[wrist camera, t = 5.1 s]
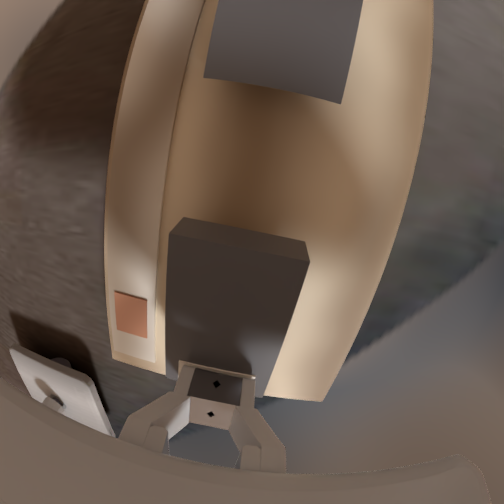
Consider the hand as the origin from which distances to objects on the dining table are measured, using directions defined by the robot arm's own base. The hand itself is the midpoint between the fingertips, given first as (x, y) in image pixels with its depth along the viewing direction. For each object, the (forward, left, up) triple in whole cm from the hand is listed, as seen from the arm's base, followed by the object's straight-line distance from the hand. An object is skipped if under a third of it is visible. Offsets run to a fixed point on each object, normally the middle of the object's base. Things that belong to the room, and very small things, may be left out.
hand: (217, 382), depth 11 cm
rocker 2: (0, -3, -1) cm, 3 cm away
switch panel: (0, -9, -6) cm, 11 cm away
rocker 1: (0, -15, -1) cm, 15 cm away
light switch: (+14, +13, -6) cm, 20 cm away
